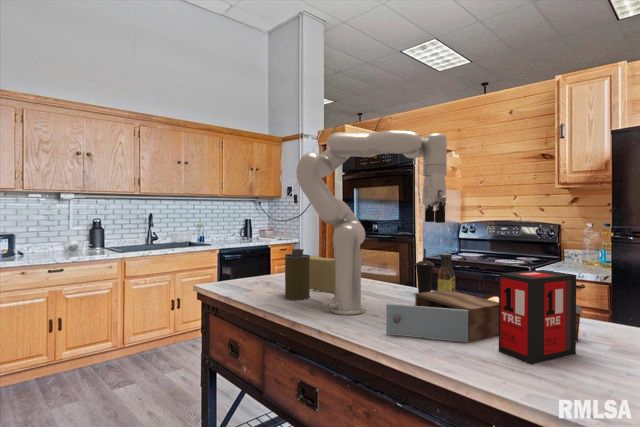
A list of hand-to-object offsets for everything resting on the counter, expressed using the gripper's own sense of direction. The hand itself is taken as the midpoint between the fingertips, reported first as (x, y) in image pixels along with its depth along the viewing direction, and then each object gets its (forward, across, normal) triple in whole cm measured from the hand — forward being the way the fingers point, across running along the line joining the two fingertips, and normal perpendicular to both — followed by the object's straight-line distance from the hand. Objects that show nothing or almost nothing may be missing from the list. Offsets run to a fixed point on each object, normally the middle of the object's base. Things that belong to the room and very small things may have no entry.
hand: (434, 222), depth 126 cm
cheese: (+32, -44, -35) cm, 65 cm away
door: (+32, +21, -10) cm, 39 cm away
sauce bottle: (+32, -14, +10) cm, 37 cm away
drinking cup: (+32, -33, +8) cm, 47 cm away
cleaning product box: (+32, +32, +15) cm, 48 cm away
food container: (+32, +19, +29) cm, 47 cm away
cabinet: (+32, +11, +3) cm, 34 cm away
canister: (+32, -32, -47) cm, 65 cm away
